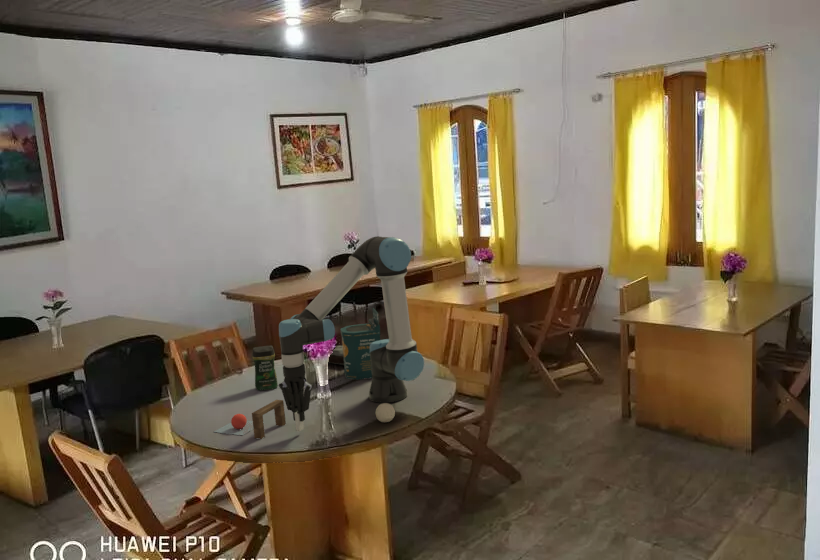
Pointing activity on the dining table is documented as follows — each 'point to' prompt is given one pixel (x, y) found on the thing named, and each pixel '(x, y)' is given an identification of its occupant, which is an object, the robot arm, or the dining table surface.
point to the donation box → (359, 347)
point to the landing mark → (232, 429)
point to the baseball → (385, 412)
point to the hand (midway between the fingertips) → (300, 429)
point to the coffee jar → (264, 368)
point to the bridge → (258, 415)
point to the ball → (238, 421)
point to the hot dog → (337, 356)
